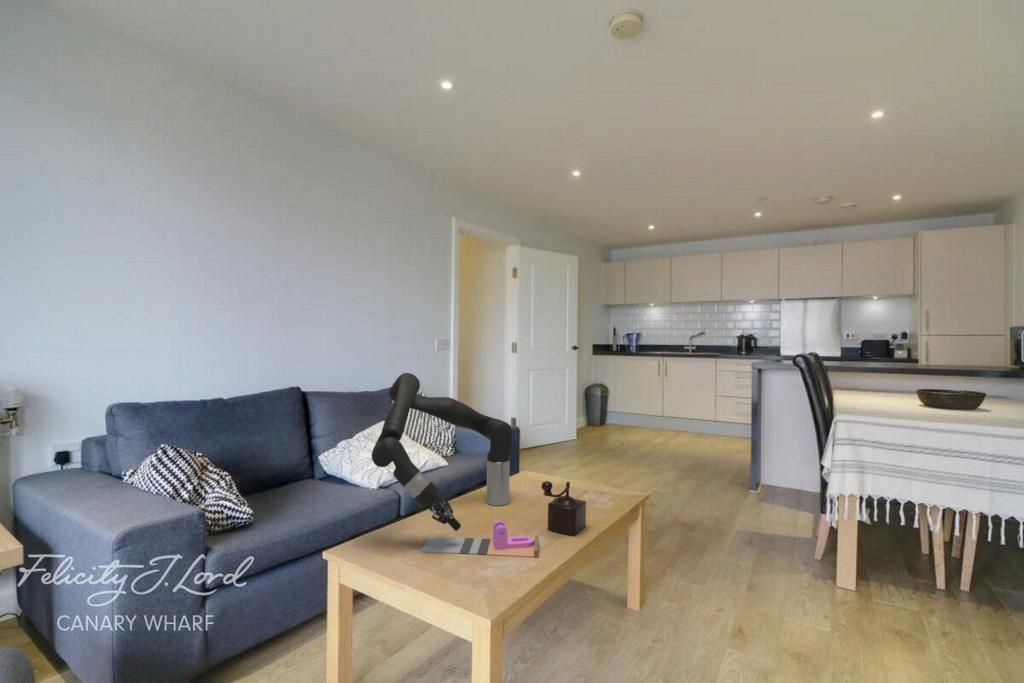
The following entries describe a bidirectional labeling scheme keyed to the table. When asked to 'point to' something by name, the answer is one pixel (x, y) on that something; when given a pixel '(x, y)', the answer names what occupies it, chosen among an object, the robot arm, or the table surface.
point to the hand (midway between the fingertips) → (458, 528)
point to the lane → (476, 547)
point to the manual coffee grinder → (565, 512)
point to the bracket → (509, 538)
